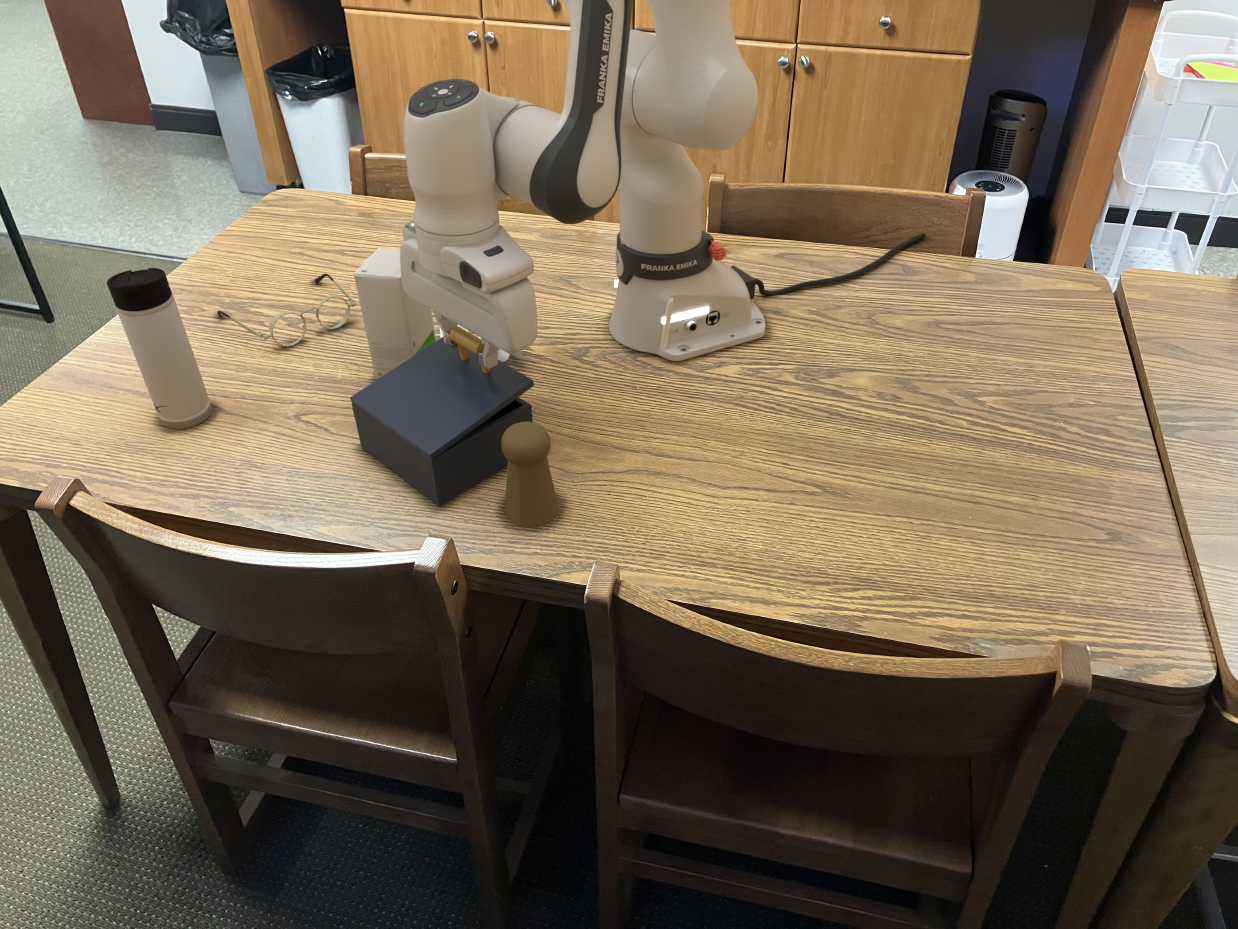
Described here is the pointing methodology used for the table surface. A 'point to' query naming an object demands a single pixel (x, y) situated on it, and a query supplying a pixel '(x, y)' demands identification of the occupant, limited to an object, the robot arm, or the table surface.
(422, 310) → the cosmetic box
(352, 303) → the round eyeglasses
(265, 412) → the table surface
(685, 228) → the robot arm
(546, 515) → the brown pawn
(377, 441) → the chest
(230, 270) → the table surface
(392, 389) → the lid
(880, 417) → the table surface
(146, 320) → the travel mug
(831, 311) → the table surface
